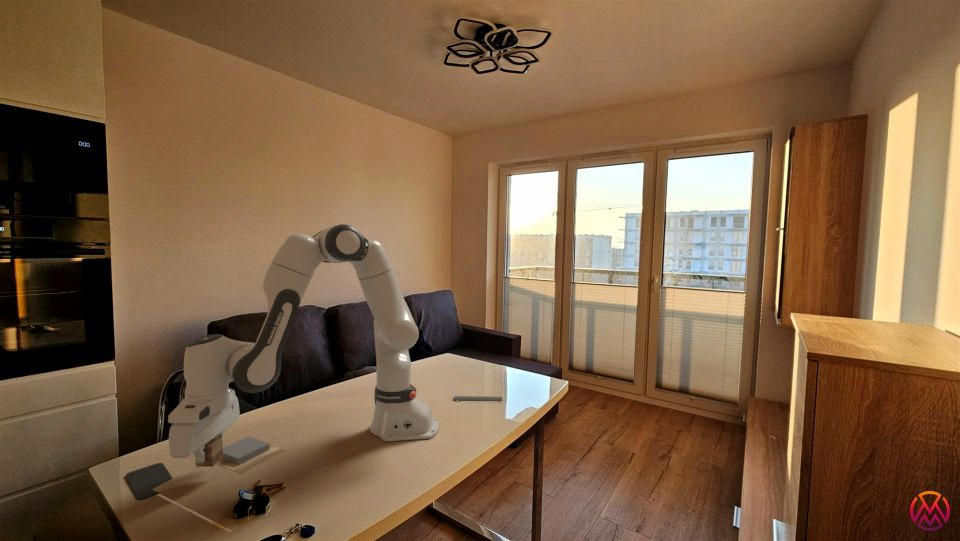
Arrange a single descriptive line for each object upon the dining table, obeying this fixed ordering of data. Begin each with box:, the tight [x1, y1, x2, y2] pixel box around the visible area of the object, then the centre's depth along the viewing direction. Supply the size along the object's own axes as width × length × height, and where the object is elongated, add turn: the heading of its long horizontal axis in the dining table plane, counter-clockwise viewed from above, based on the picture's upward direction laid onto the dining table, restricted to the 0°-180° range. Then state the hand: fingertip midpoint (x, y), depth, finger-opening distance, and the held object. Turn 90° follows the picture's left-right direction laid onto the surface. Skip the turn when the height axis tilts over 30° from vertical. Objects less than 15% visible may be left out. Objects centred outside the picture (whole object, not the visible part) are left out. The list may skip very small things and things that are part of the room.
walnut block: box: [194, 438, 224, 468], centre depth 95 cm, size 4×4×5 cm
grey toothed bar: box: [453, 395, 503, 402], centre depth 153 cm, size 4×20×2 cm, turn 93°
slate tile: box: [222, 436, 270, 465], centre depth 107 cm, size 2×9×9 cm
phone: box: [125, 462, 174, 501], centre depth 94 cm, size 7×1×15 cm
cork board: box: [215, 444, 286, 475], centre depth 107 cm, size 15×13×1 cm
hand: (209, 455), depth 95 cm, fingers closed on walnut block, 4 cm apart
